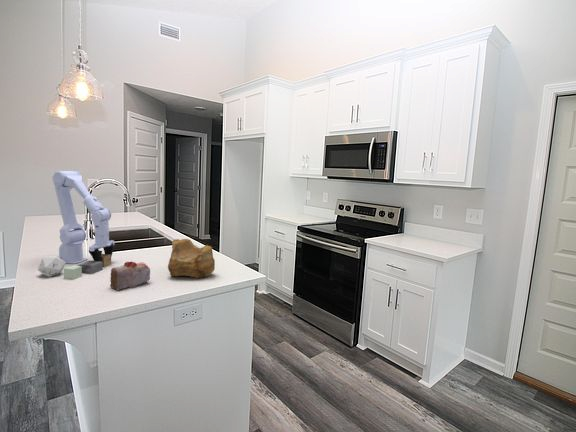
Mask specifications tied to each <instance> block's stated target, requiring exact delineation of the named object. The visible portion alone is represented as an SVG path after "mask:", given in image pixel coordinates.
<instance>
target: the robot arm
mask: <svg viewBox="0 0 576 432" xmlns="http://www.w3.org/2000/svg"><path fill="white" fill-rule="evenodd" d="M52 181H53V186H54V189H55V194H56V198H57V202H58V206H59V210H60V215H61V217H62V218H61V219H62V222H63V226H62V227H60V229H59V239H60V242H61V244H60V245H59V247H58V255H59V256H58V257H59V258H60V259H62V260H63V261H65V262H66V263H65V264H76V265H77V264H80V263H83V262H86V261H88V258H84V251H83V243H85V242H84V241H85V240H86V238H87V233H86V231H85V229H84V226H83V225H82V224H80V223H78V221H77V216H76V212H75V208H74V204H73V199H72V197H71V190H72V189H74V191H76V193H78V195H79V196H80V197H82V199H83V201H82V202H83V204H84V206H85V207H86V208H87V210H88V211H89V212H90V214H91V215H90V219H91V220H92V223H93V226H94V244H93V245H91V246H89V247H88V253H89V254H90V256H91V258H92V259H93V260H92V261H100V260H101V254H103V253H104V254H110V255H111V257H112V256H113V252H114V251H115V249H116V245H115V240H112V239H111V240H110V231H109V230H110V229H109V228H110V227H109V225H110V224H109V221H110V220H111V217H112V213H111V210H110V209H108V208H106V207H105V206H103V205H102V204H101V202H100V201H99V199H98V197H96V196H94V195H92V194H91V192H90V191H89V190H88V188H87V186H86V185H85V183H84V182H83V176H82V174H81V173H80V172H79V171H77V170H56V171H54V173H53V175H52ZM101 249H103V250H101Z"/></svg>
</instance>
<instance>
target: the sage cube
mask: <svg viewBox="0 0 576 432" xmlns="http://www.w3.org/2000/svg"><path fill="white" fill-rule="evenodd" d="M62 271H63V279H64V280H73V281H75V280H76V279H78V278H81V277H83V273H82V266H77V265H70V266H67V267H64V268H63V270H62Z"/></svg>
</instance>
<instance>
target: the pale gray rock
mask: <svg viewBox="0 0 576 432" xmlns="http://www.w3.org/2000/svg"><path fill="white" fill-rule="evenodd" d="M66 264H67V263H66V262H65V261H63V260H62V259H60V258H59V256H57V255H56V254H54V255H49V256H45V257H42V258H41V261H40V263H39V266H38V268H37V271H39V272H40V273H42V274H44V275H45V276H46V277H47V278H50V277H51V278H52V277H54V276H57V275H61V274H62V273H63V271H64V270H63V268H65V266H66Z"/></svg>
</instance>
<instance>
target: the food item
mask: <svg viewBox="0 0 576 432" xmlns="http://www.w3.org/2000/svg"><path fill="white" fill-rule="evenodd" d="M150 279H151V268H150V267H149V265H148V264H146V263H145V262H143V261H141V262H135V261H126V262H124V264H123V265H120V266H115V267H112V268H111V269H110V285H109V286H110V288H111V289H114V290H115V291H119V290H124V289H127V288H135V287H137V286H140V285H144V284H146V283H147V282H149V281H150Z"/></svg>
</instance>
